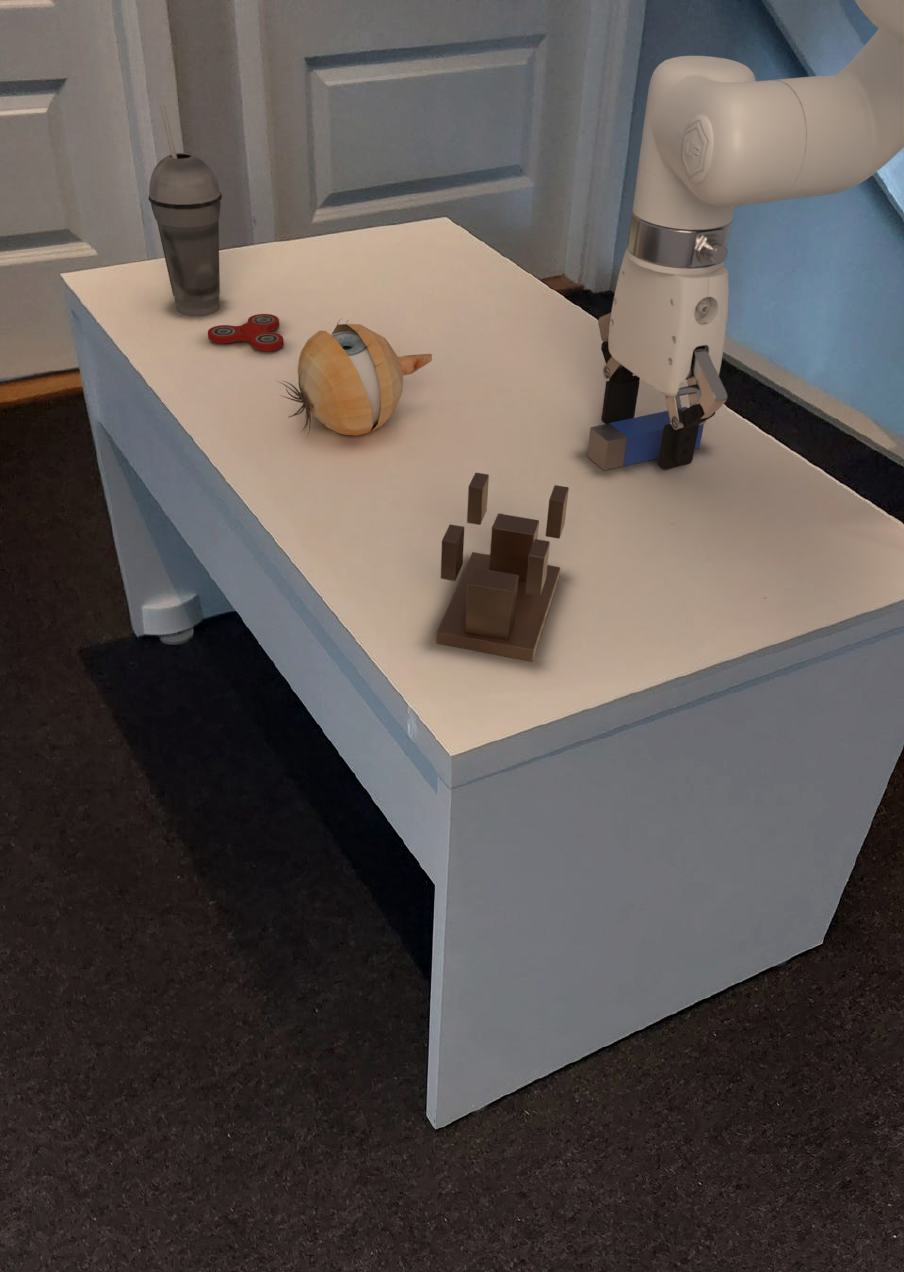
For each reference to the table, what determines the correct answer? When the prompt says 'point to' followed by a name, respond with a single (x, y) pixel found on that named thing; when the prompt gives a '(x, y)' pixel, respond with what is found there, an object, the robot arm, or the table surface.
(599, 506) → the table surface
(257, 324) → the fidget spinner
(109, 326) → the table surface
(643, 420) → the blue eraser block
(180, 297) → the beverage cup
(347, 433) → the sculpture
